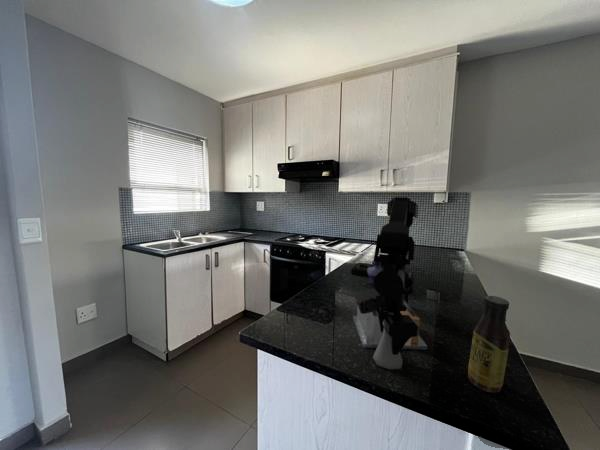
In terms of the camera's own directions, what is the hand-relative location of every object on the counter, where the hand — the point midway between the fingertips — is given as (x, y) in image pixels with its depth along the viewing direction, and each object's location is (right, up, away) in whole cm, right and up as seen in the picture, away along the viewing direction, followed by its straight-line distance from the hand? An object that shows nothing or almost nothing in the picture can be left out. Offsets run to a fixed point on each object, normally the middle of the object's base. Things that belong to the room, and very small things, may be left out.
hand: (388, 342), depth 62 cm
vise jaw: (+9, -2, +13) cm, 16 cm away
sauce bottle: (+19, -6, -7) cm, 21 cm away
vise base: (+4, -3, +13) cm, 14 cm away
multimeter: (+16, +3, +68) cm, 70 cm away
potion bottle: (+13, +2, +54) cm, 55 cm away
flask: (0, -5, +1) cm, 5 cm away
